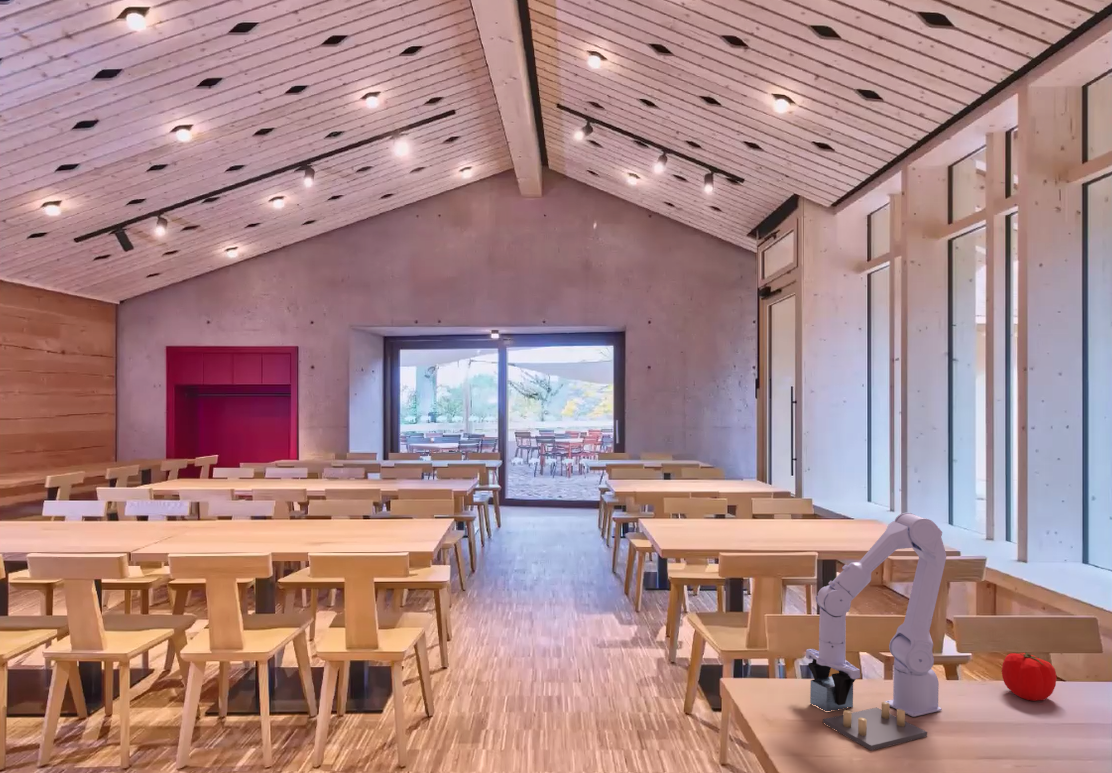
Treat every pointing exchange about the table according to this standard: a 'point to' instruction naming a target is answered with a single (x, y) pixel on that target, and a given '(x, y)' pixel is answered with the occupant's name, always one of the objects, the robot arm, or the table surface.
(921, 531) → the robot arm
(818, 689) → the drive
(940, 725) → the table surface
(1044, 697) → the tomato
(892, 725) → the grey pegged base plate
